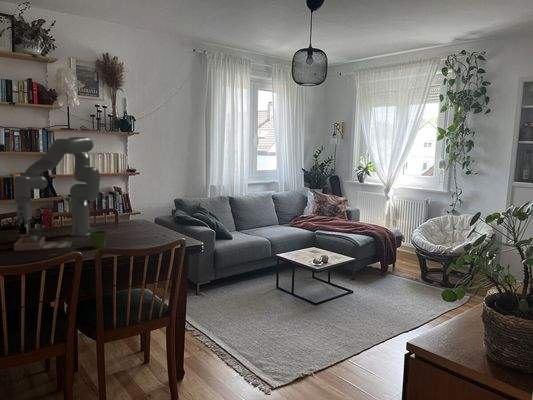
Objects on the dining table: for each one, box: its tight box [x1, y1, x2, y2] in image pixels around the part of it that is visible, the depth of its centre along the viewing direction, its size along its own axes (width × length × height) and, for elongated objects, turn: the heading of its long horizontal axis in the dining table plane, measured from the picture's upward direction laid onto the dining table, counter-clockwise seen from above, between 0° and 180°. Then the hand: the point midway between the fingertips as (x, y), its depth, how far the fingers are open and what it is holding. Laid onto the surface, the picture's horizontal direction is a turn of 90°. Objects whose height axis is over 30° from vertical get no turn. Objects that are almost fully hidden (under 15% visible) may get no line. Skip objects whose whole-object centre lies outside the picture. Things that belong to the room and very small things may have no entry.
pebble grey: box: [19, 223, 30, 237], centre depth 215 cm, size 4×4×6 cm
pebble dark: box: [28, 235, 38, 243], centre depth 216 cm, size 4×4×6 cm
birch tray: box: [40, 240, 73, 250], centre depth 221 cm, size 14×14×1 cm
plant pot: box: [89, 230, 108, 249], centre depth 221 cm, size 9×9×9 cm
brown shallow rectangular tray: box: [13, 236, 46, 252], centre depth 216 cm, size 12×16×4 cm
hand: (24, 233), depth 215 cm, fingers closed on pebble grey, 4 cm apart
